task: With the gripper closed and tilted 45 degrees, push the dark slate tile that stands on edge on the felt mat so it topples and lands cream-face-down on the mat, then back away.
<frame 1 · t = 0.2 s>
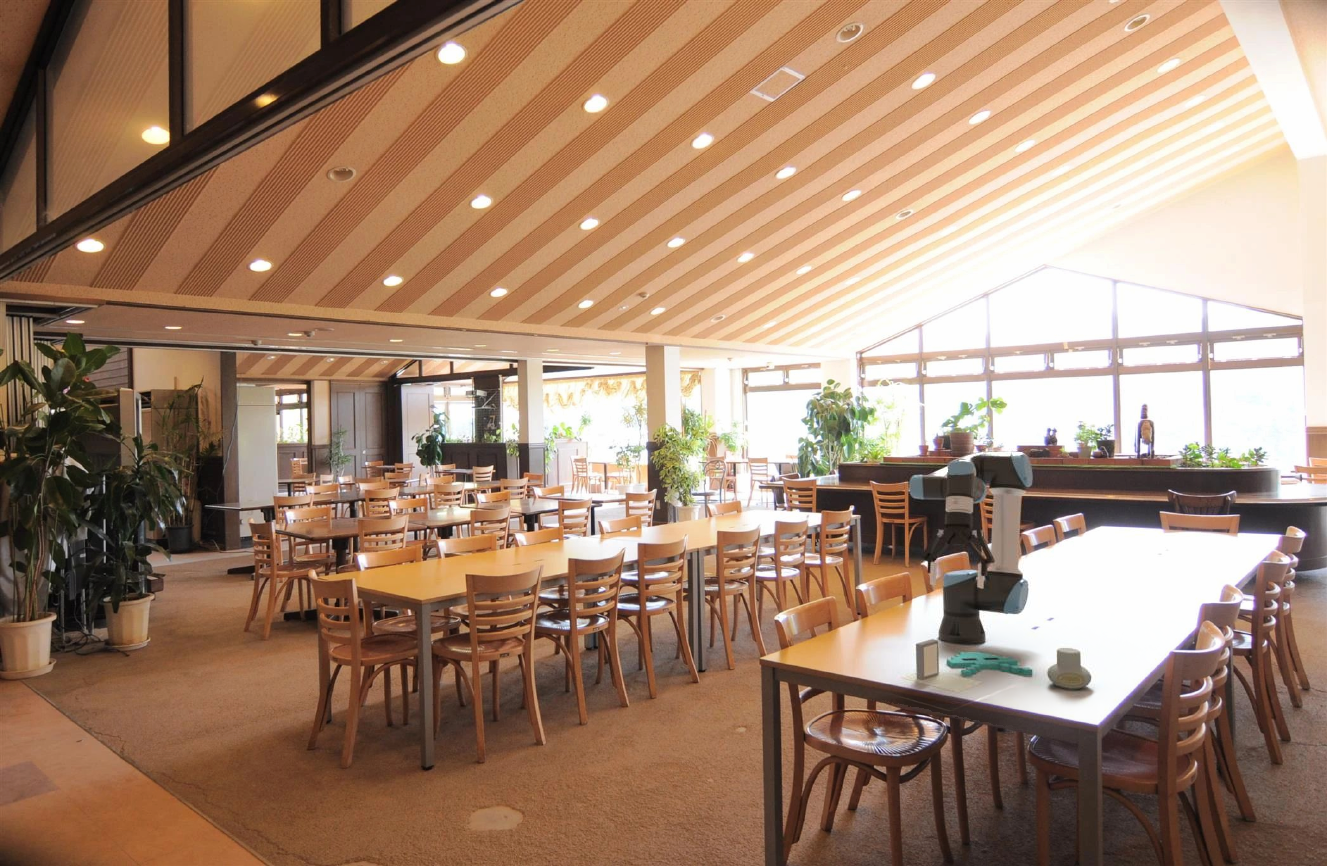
hand: (956, 586, 234), 27 cm above the table, tool tilted 15°, fingers open, 13 cm apart
slate tile: (927, 676, 237), resting on felt mat
alien figure: (983, 669, 247), on the table
felt mat: (941, 681, 234), on the table
air freshener: (1069, 687, 227), on the table
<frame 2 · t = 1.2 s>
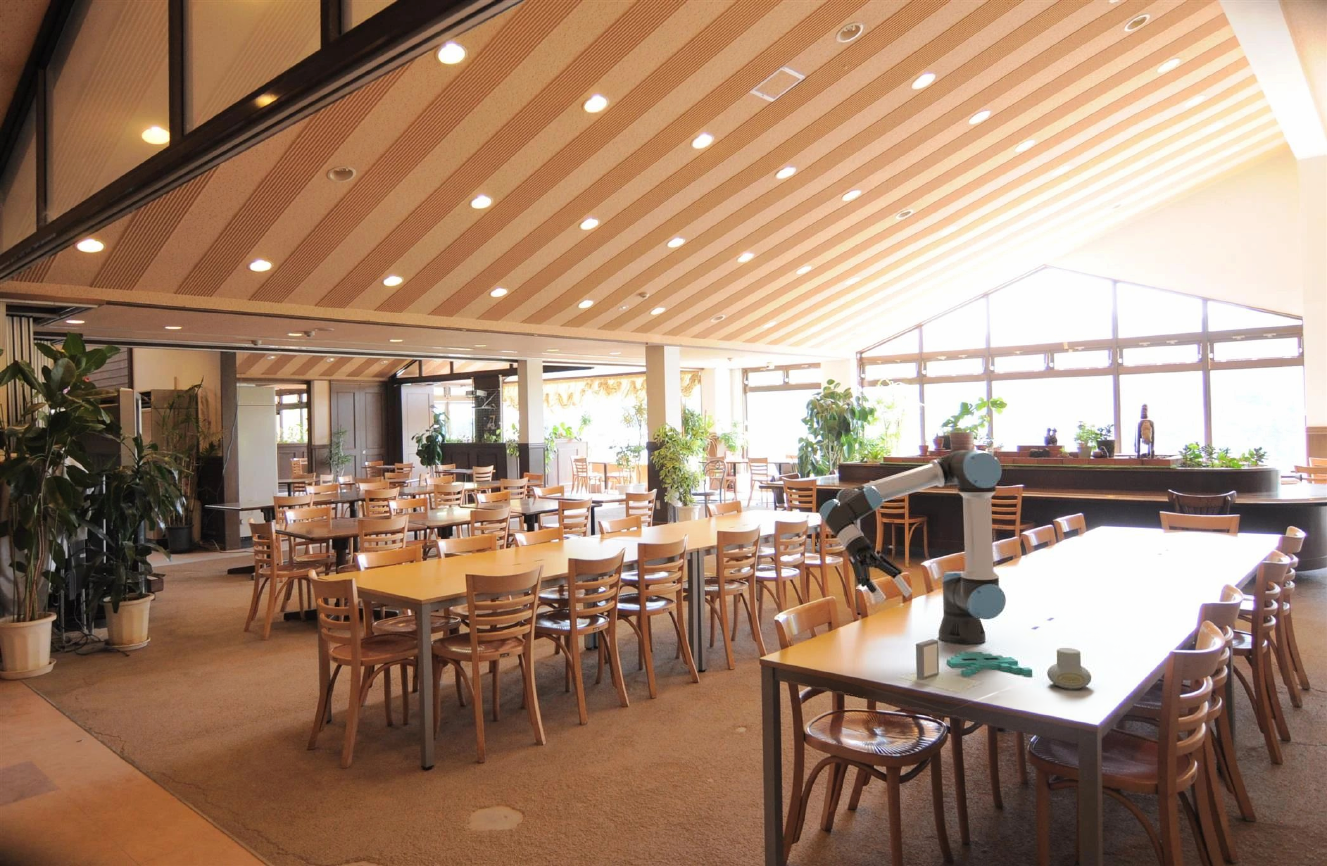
hand: (896, 597, 246), 22 cm above the table, tool tilted 45°, fingers open, 13 cm apart
nothing on the table moved.
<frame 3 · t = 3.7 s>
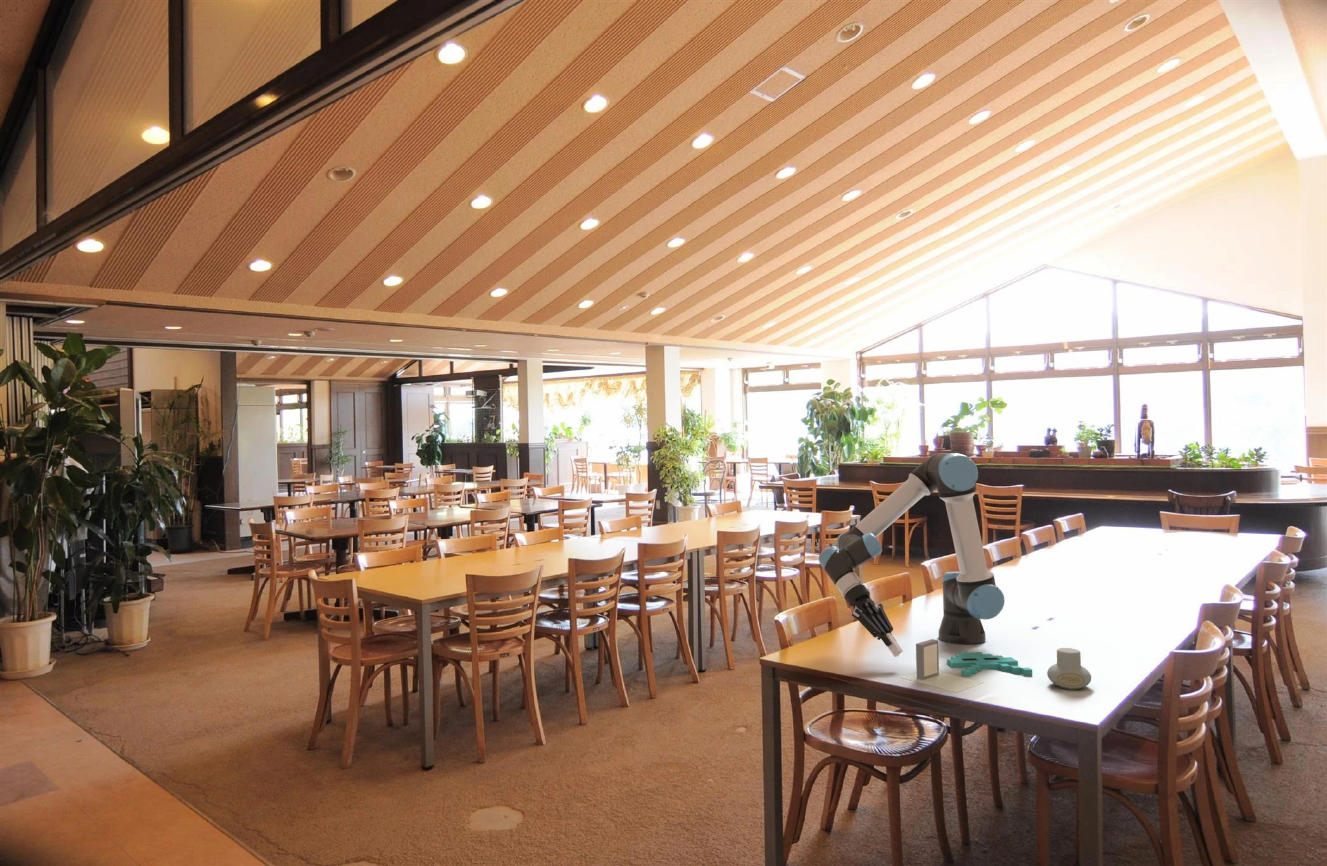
hand: (898, 653, 245), 5 cm above the table, tool tilted 45°, fingers closed
nothing on the table moved.
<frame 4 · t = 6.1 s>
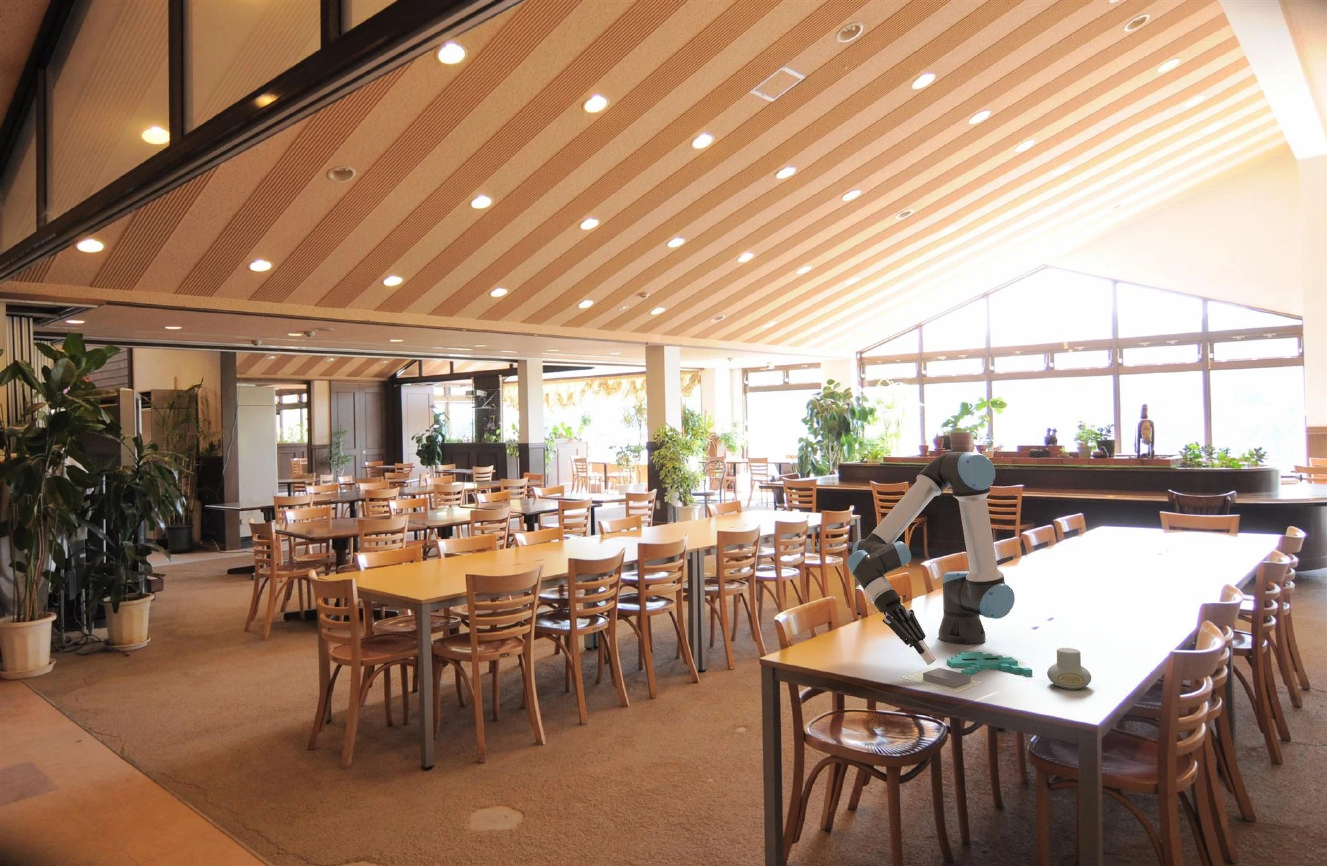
hand: (932, 662, 236), 5 cm above the table, tool tilted 45°, fingers closed
slate tile: (931, 673, 236), point 1 cm above the table, tilted 90°, touching felt mat
everything else where it was.
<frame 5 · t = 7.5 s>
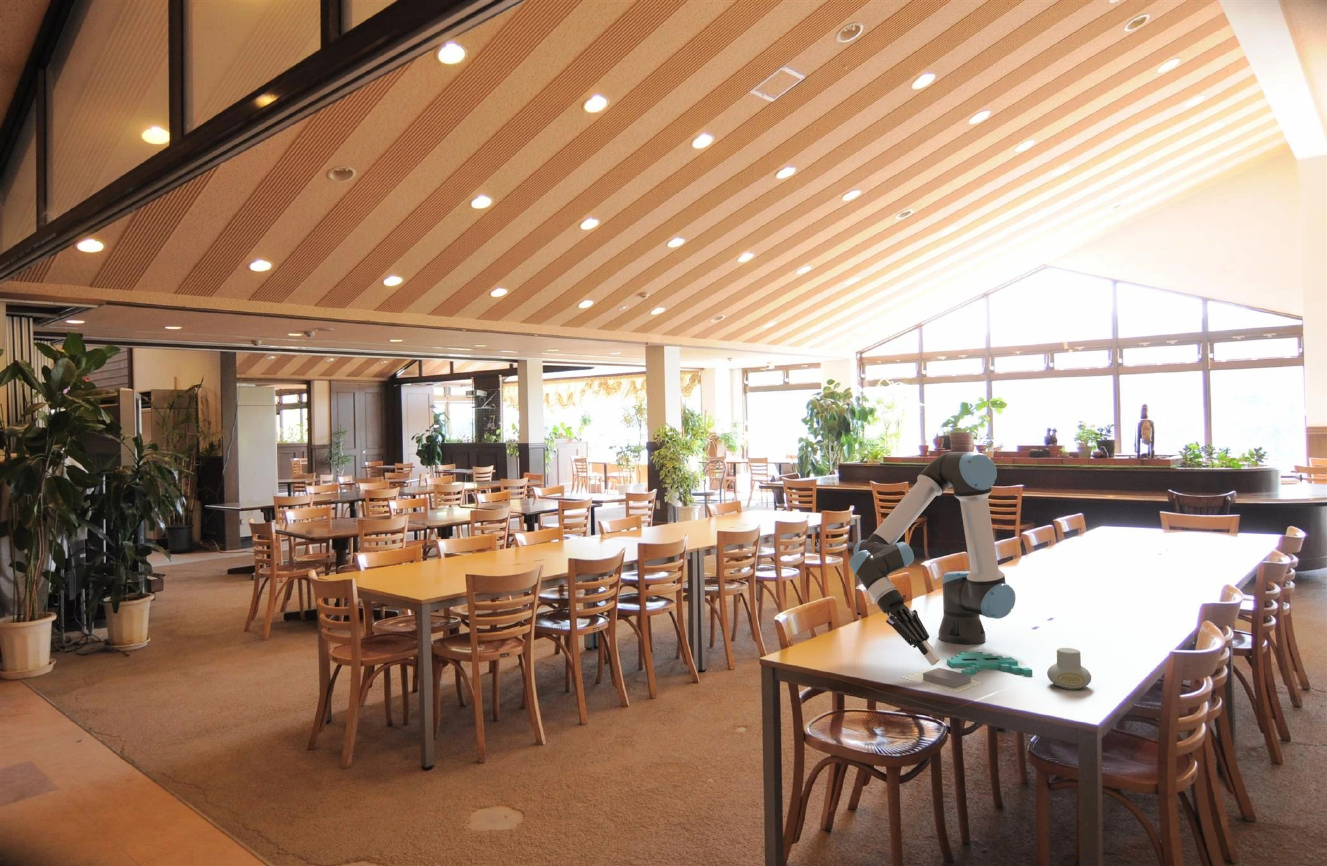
hand: (935, 662, 235), 5 cm above the table, tool tilted 45°, fingers closed
nothing on the table moved.
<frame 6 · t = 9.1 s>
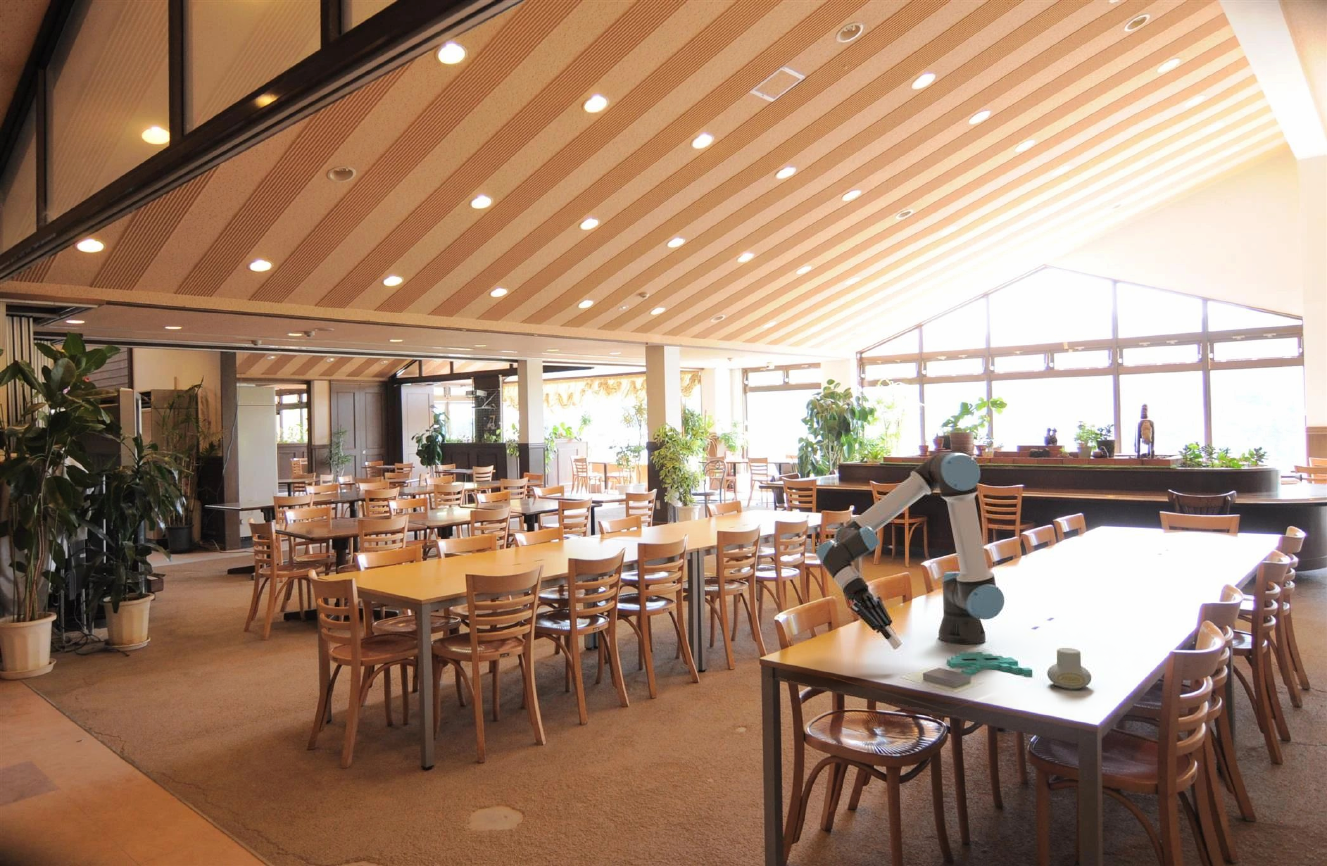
hand: (898, 646, 245), 7 cm above the table, tool tilted 45°, fingers closed
nothing on the table moved.
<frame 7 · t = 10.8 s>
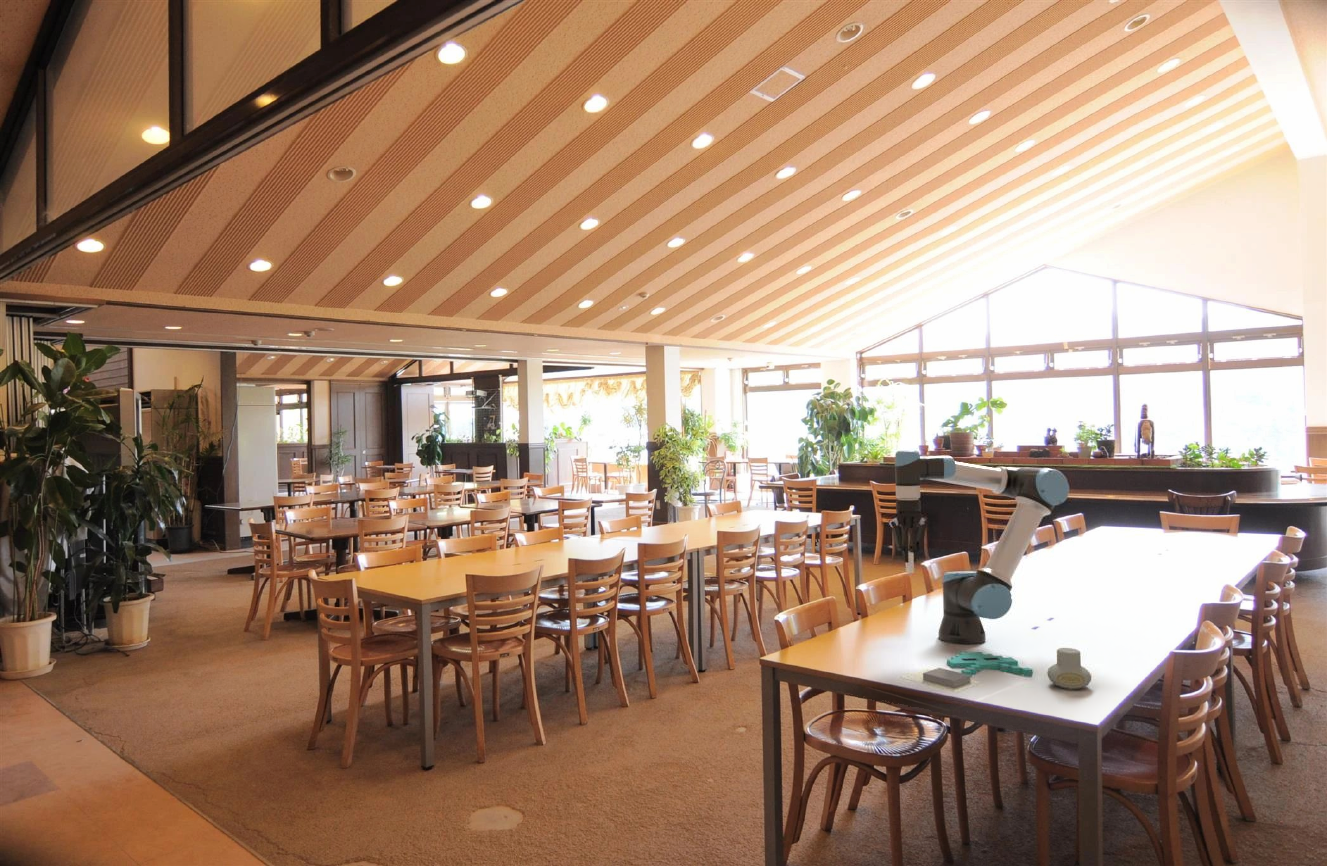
hand: (909, 572, 262), 26 cm above the table, tool pointing down, fingers closed
nothing on the table moved.
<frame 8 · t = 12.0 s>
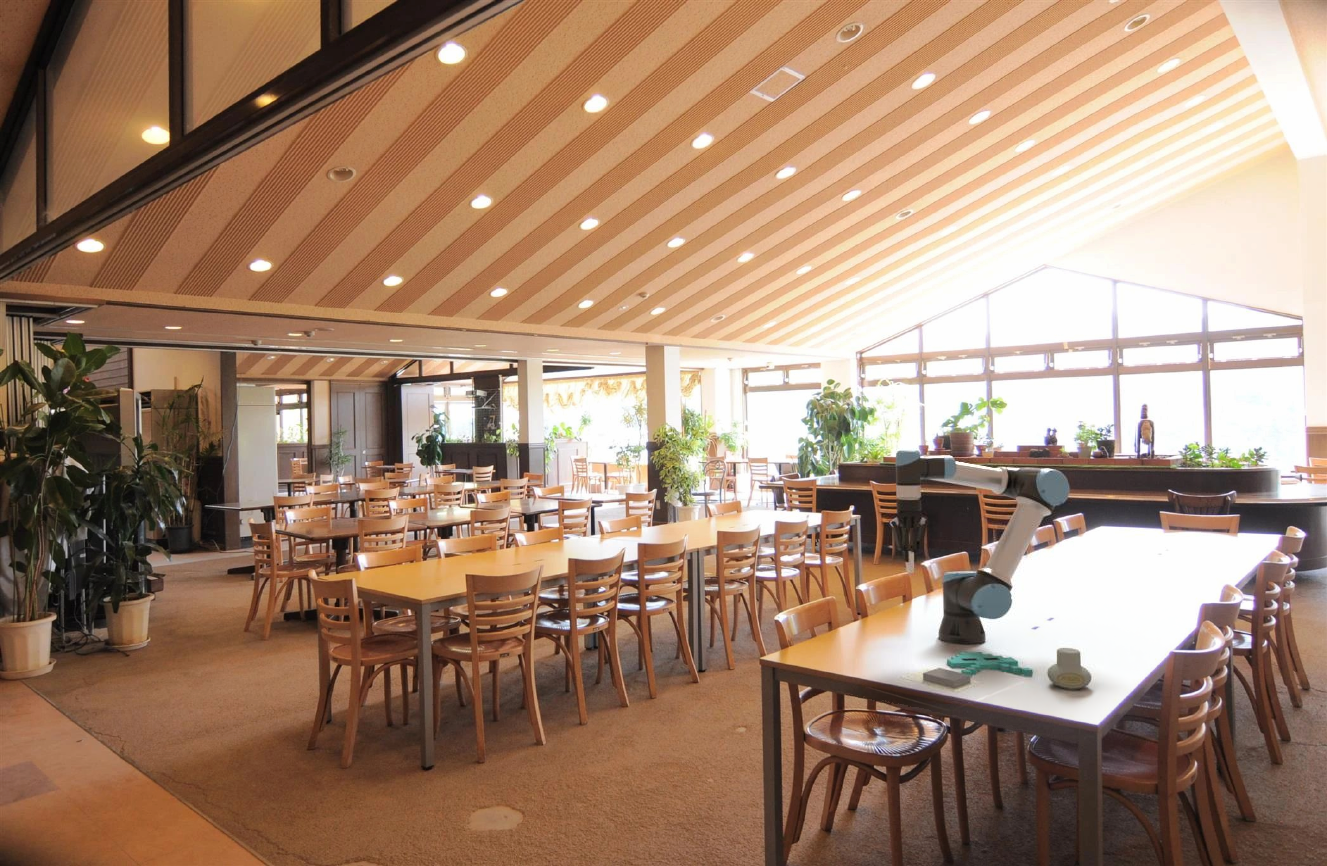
hand: (910, 572, 262), 26 cm above the table, tool pointing down, fingers closed
nothing on the table moved.
at the end: slate tile tilted 90°; slate tile inside the target area on the felt mat (3.4 cm from its centre), point 1.4 cm above the felt mat's base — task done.
